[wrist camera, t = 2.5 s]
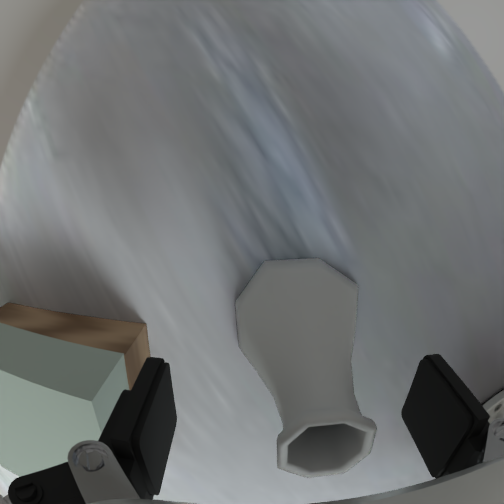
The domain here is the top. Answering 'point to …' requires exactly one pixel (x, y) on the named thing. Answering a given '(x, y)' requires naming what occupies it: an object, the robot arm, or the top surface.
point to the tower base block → (85, 332)
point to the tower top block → (52, 397)
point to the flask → (306, 362)
